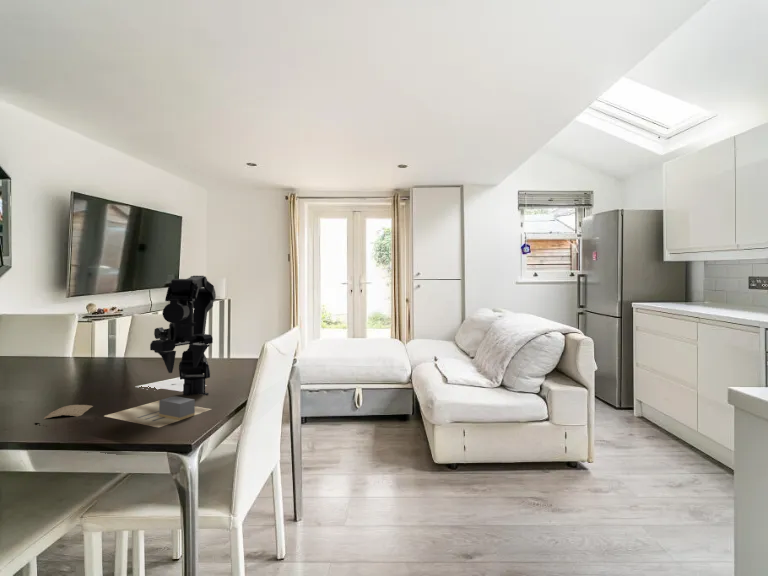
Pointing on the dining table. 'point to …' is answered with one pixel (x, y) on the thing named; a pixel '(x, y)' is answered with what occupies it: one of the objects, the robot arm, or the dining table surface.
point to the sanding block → (177, 407)
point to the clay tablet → (69, 411)
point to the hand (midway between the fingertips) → (183, 370)
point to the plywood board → (148, 415)
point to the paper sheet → (167, 384)
